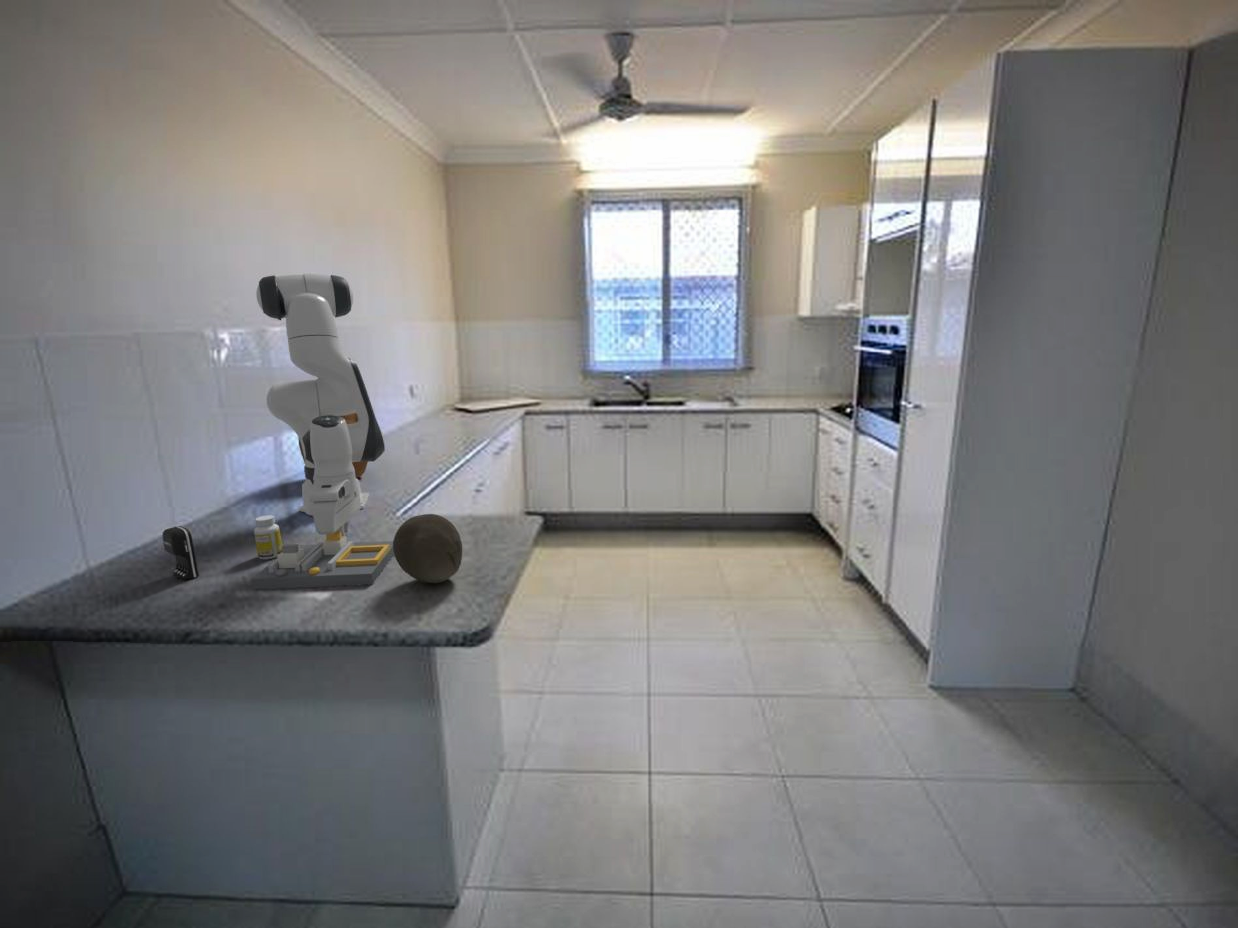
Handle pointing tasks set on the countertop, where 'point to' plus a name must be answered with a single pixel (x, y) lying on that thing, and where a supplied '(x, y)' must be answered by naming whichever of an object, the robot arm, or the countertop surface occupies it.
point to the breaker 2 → (334, 543)
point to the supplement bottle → (267, 537)
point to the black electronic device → (181, 551)
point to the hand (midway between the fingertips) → (343, 539)
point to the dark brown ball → (428, 548)
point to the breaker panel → (329, 567)
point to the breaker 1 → (290, 555)
